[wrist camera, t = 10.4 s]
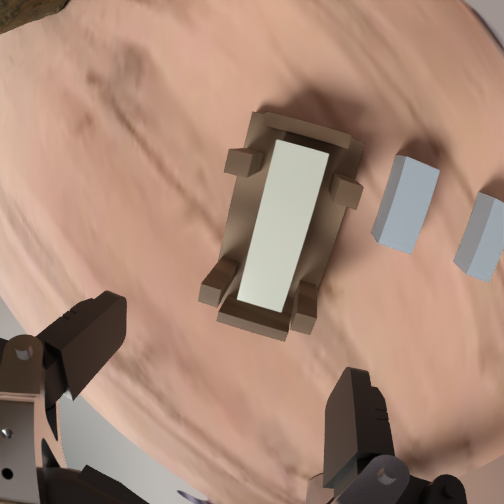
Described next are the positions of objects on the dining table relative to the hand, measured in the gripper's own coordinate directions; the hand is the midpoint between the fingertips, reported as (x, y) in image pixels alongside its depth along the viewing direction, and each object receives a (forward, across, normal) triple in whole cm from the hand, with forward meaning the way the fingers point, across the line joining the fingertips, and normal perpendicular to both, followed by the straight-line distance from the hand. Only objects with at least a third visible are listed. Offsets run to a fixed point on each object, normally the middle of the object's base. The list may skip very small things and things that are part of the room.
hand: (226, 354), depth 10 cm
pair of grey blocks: (+17, -14, -5) cm, 23 cm away
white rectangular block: (+16, 0, -1) cm, 16 cm away
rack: (+17, 0, 0) cm, 17 cm away
